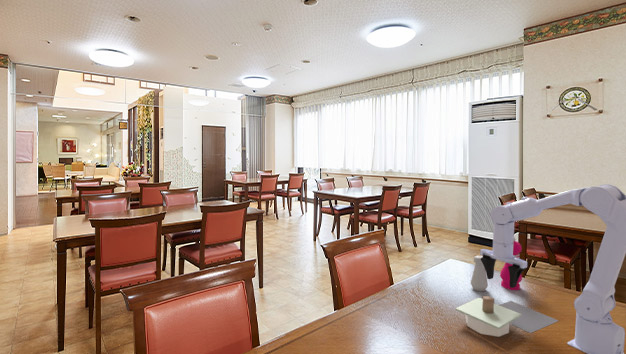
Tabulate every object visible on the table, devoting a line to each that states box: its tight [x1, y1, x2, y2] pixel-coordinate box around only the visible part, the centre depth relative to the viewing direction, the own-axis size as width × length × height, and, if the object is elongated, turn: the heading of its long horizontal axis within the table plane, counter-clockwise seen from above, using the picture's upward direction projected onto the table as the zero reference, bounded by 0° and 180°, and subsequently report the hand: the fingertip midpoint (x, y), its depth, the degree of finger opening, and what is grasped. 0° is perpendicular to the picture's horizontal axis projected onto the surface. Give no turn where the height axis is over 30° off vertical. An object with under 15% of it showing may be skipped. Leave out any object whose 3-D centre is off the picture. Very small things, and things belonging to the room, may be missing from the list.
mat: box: [498, 300, 559, 334], centre depth 104 cm, size 15×15×1 cm
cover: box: [455, 295, 521, 329], centre depth 98 cm, size 13×13×5 cm
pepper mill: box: [499, 237, 523, 291], centre depth 125 cm, size 7×7×20 cm
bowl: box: [464, 315, 510, 337], centre depth 98 cm, size 11×11×4 cm
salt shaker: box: [470, 255, 489, 292], centre depth 123 cm, size 6×6×13 cm
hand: (501, 282), depth 106 cm, fingers open, 7 cm apart
